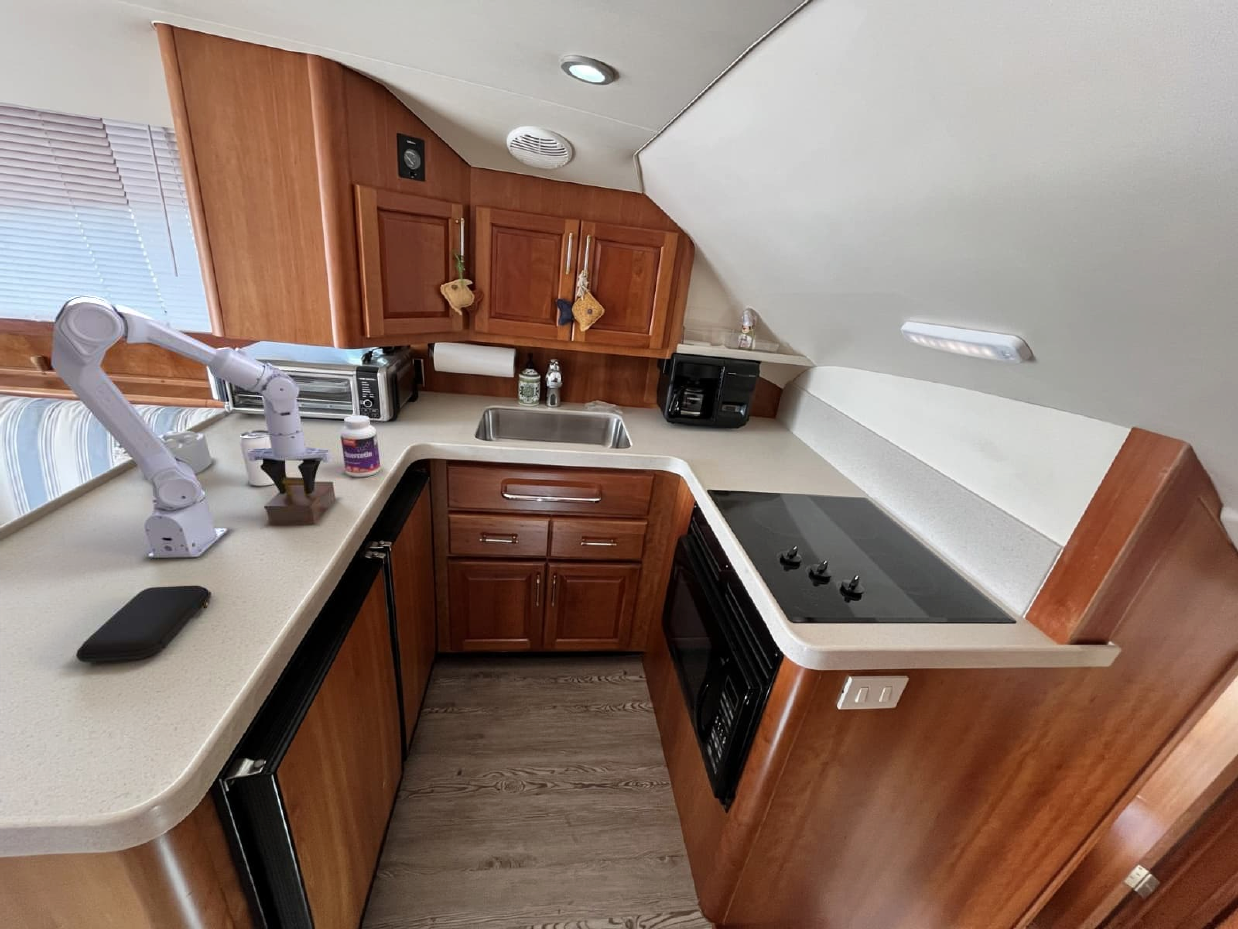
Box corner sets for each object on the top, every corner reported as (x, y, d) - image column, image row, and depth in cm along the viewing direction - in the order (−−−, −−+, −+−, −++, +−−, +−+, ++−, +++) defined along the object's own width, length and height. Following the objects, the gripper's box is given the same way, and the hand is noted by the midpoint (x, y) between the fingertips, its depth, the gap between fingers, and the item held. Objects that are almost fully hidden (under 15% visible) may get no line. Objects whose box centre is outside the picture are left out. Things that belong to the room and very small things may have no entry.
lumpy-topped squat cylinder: (217, 459, 126) (209, 427, 122) (188, 480, 114) (178, 446, 111) (170, 459, 124) (160, 427, 120) (135, 481, 112) (123, 446, 109)
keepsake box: (315, 524, 101) (312, 508, 100) (269, 524, 100) (265, 508, 98) (335, 499, 112) (333, 484, 110) (294, 499, 110) (291, 484, 109)
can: (266, 488, 114) (255, 440, 109) (242, 484, 115) (230, 436, 110) (288, 478, 119) (279, 431, 115) (266, 473, 120) (255, 427, 116)
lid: (310, 509, 99) (307, 488, 98) (264, 509, 98) (259, 488, 96) (333, 484, 110) (330, 465, 108) (291, 484, 109) (287, 464, 107)
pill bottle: (342, 479, 121) (333, 424, 115) (349, 466, 128) (342, 413, 123) (378, 478, 123) (371, 423, 118) (383, 465, 130) (377, 413, 125)
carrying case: (165, 663, 67) (224, 595, 80) (159, 646, 65) (220, 579, 79) (71, 670, 64) (148, 598, 78) (63, 652, 63) (142, 582, 77)
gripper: (332, 425, 102) (342, 483, 107) (256, 423, 100) (269, 483, 105) (318, 436, 96) (329, 498, 101) (236, 435, 93) (251, 498, 99)
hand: (297, 491), depth 103 cm, fingers closed on lid, 4 cm apart
